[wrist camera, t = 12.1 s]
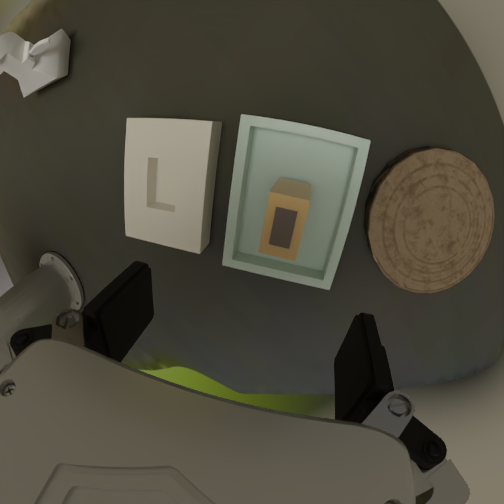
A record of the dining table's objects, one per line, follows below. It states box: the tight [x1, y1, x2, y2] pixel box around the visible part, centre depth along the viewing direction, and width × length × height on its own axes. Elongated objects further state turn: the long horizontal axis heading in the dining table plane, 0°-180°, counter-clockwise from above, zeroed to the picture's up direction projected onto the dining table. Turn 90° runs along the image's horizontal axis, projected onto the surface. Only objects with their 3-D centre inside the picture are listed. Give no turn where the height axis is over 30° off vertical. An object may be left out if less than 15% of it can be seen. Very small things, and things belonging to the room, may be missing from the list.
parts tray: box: [222, 114, 371, 290], centre depth 27 cm, size 16×12×2 cm
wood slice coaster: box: [364, 146, 494, 293], centre depth 24 cm, size 16×16×3 cm
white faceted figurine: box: [0, 29, 71, 97], centre depth 19 cm, size 8×14×14 cm, turn 91°
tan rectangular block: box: [258, 178, 311, 261], centre depth 24 cm, size 5×3×8 cm, turn 171°
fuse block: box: [124, 118, 222, 254], centre depth 28 cm, size 14×10×3 cm
